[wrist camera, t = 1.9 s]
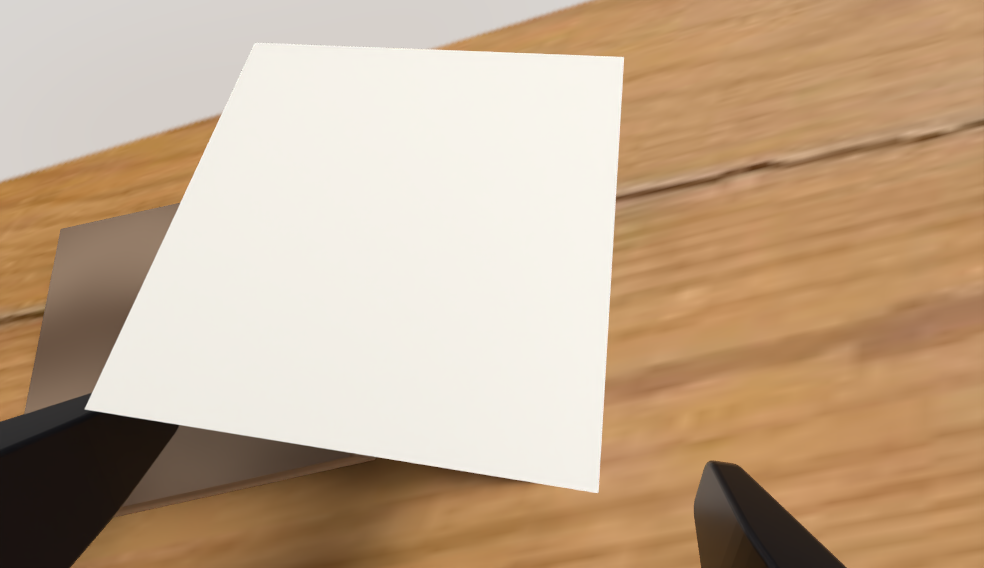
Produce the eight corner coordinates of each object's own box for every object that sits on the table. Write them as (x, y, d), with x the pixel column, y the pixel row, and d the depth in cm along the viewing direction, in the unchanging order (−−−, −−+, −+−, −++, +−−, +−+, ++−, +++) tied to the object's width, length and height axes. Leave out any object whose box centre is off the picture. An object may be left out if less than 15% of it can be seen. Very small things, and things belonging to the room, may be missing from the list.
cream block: (550, 482, 16) (598, 492, 4) (409, 459, 17) (84, 409, 5) (563, 341, 18) (624, 56, 6) (436, 325, 18) (255, 42, 6)
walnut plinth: (375, 459, 17) (350, 456, 14) (74, 525, 17) (0, 533, 14) (351, 204, 21) (328, 170, 19) (112, 256, 21) (60, 229, 19)
